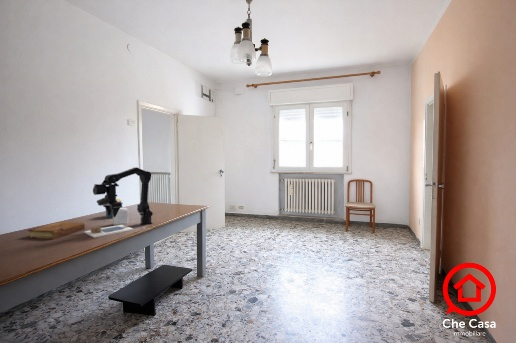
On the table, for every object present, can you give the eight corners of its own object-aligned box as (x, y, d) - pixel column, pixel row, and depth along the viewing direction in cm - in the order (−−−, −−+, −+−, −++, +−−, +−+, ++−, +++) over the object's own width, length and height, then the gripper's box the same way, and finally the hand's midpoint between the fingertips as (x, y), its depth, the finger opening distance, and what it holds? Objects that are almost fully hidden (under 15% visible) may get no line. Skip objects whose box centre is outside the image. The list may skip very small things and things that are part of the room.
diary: (54, 240, 160) (54, 230, 160) (28, 239, 163) (27, 230, 163) (84, 230, 183) (84, 222, 183) (61, 229, 186) (60, 221, 186)
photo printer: (127, 222, 204) (127, 206, 204) (128, 223, 201) (128, 207, 200) (112, 224, 199) (112, 208, 198) (113, 225, 195) (112, 209, 195)
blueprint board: (121, 226, 194) (121, 220, 193) (133, 229, 182) (132, 224, 182) (84, 232, 175) (84, 226, 175) (93, 237, 164) (93, 231, 164)
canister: (126, 216, 228) (126, 196, 227) (115, 219, 215) (114, 198, 215) (113, 216, 231) (113, 196, 230) (101, 219, 218) (101, 197, 217)
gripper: (92, 193, 179) (93, 216, 180) (103, 195, 167) (104, 220, 168) (110, 192, 188) (111, 214, 188) (121, 193, 176) (122, 217, 176)
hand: (111, 216), depth 180 cm, fingers open, 9 cm apart
